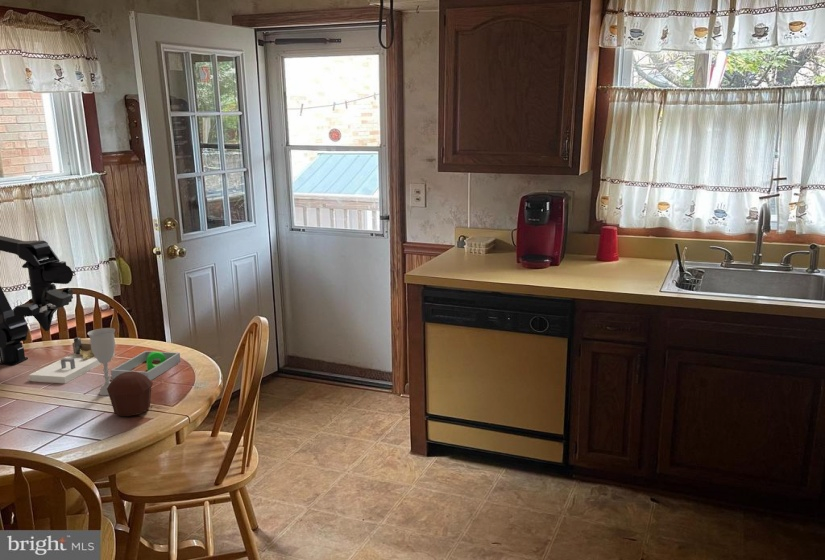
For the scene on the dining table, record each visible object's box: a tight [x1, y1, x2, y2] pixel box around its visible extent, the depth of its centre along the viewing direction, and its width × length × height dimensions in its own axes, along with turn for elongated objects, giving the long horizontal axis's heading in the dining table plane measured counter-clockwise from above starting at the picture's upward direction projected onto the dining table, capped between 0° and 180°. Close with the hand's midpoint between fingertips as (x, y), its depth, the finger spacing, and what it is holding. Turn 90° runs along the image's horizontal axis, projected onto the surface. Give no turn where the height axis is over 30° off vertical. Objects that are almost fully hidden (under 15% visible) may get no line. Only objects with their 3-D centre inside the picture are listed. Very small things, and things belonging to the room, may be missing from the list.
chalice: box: [87, 327, 116, 396], centre depth 191 cm, size 7×7×18 cm
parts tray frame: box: [110, 350, 181, 381], centre depth 210 cm, size 12×18×3 cm
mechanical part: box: [145, 350, 166, 372], centre depth 210 cm, size 12×6×8 cm, turn 119°
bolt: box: [73, 337, 94, 358], centre depth 219 cm, size 6×10×6 cm, turn 169°
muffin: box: [107, 370, 153, 417], centre depth 180 cm, size 12×11×10 cm
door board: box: [28, 338, 116, 384], centre depth 212 cm, size 12×24×6 cm, turn 169°
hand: (47, 330), depth 211 cm, fingers closed
